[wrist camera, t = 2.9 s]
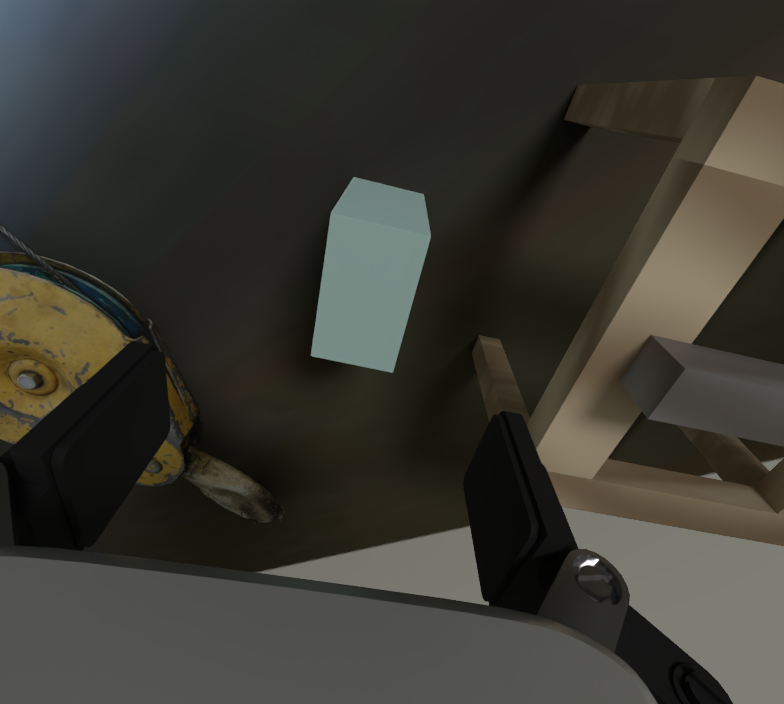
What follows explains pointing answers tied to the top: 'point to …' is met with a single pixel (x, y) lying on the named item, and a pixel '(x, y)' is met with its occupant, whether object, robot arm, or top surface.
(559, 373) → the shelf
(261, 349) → the top surface
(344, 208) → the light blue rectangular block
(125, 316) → the pulley block
